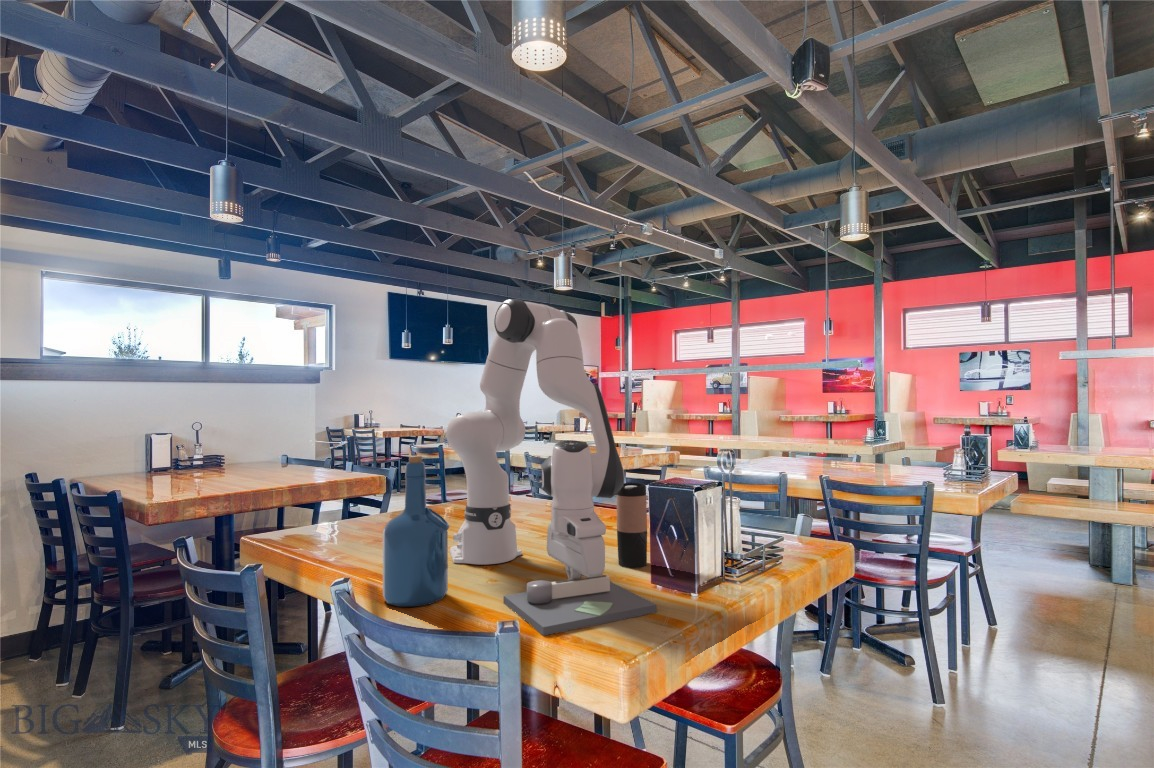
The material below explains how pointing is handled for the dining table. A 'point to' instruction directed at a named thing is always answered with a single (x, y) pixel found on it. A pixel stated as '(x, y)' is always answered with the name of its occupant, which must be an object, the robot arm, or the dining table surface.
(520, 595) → the dial plate
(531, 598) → the dial lever
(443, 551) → the wine bottle
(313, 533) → the dining table surface
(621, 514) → the travel mug
